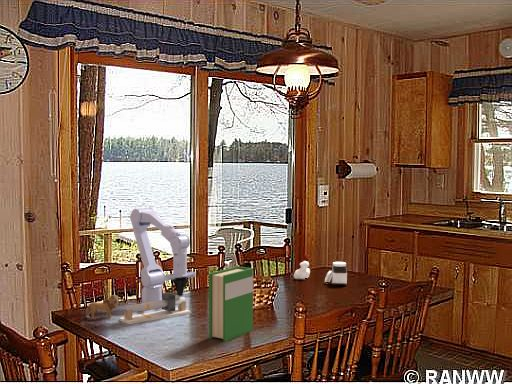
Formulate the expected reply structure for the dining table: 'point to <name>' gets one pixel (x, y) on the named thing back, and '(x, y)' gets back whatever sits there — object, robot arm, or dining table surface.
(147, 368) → the dining table surface
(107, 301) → the lion figurine
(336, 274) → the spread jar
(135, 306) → the pipe stand
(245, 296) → the hardback book
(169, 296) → the collar
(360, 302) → the dining table surface
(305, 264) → the duck figurine
